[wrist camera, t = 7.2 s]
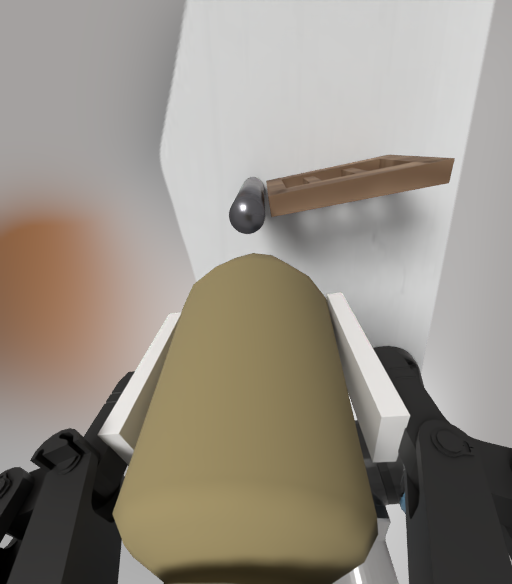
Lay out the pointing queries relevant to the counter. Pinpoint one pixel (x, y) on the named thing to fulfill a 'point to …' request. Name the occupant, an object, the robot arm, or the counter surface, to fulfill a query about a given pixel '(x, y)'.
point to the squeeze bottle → (249, 441)
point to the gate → (356, 182)
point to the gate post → (248, 207)
